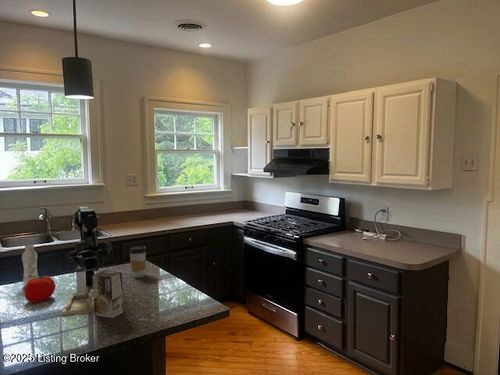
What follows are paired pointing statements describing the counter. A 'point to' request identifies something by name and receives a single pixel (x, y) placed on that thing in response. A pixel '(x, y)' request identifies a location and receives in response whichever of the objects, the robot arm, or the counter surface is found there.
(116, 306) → the coffee box
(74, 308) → the fader track
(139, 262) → the coffee cup
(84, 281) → the fader knob
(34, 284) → the tomato
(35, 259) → the plastic bottle
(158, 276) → the counter surface
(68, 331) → the counter surface
